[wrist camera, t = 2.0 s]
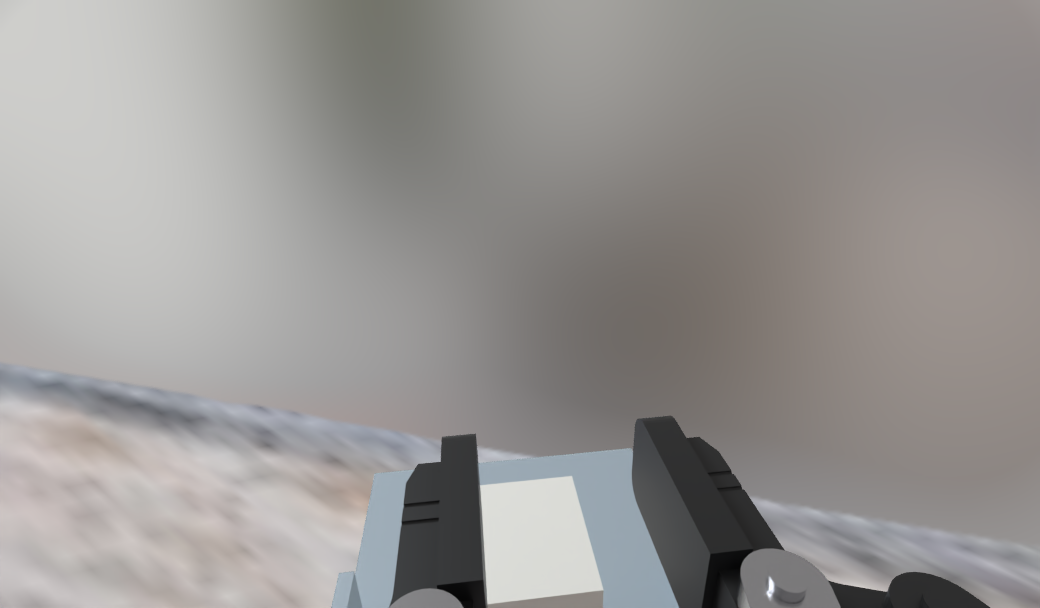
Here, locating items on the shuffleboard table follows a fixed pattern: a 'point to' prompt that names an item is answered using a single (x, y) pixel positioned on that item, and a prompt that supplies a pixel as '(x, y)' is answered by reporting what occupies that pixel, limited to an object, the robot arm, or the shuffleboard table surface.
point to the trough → (596, 475)
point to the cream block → (538, 546)
